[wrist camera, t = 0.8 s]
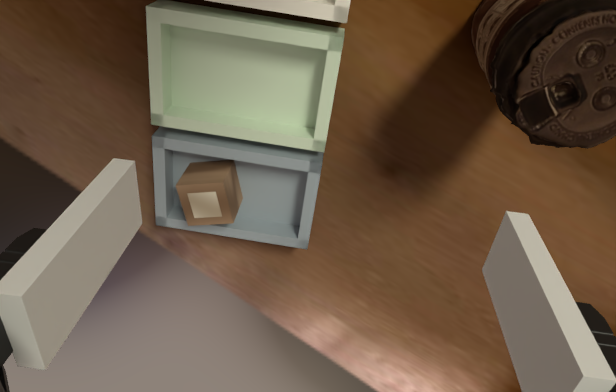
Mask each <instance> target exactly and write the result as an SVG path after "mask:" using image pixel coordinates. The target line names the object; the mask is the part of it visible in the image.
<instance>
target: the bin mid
mask: <svg viewBox="0 0 616 392" xmlns="http://www.w3.org/2000/svg"><path fill="white" fill-rule="evenodd" d="M146 22H147V43H148V64H149V86H150V107H151V125H157V126H163V127H170V128H176V129H182V130H188V131H194V132H200V133H207V134H213V135H219V136H225V137H231V138H238V139H244V140H250V141H256V142H262V143H269V144H275V145H281V146H287V147H293V148H300V149H306V150H312V151H318V152H324V150H325V144H326V139H327V133H328V127H329V121H330V116H331V110H332V104H333V98H334V93H335V87H336V81H337V75H338V70H339V64H340V58H341V52H342V47H343V41H344V31H345V29H343V28H337V27H331V26H325V25H319V24H313V23H306V22H300V21H294V20H288V19H282V18H276V17H269V16H263V15H257V14H251V13H245V12H238V11H232V10H226V9H220V8H214V7H208V6H201V5H195V4H189V3H183V2H177V1H171V0H158V1H155V2H153V3H151V4H149V5H147V6H146Z"/></svg>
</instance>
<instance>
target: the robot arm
mask: <svg viewBox="0 0 616 392" xmlns="http://www.w3.org/2000/svg"><path fill="white" fill-rule="evenodd" d="M141 224H142V216H141V208H140V199H139V191H138V182H137V174H136V165H135V161H132V160H124V159H117V158H113V159H112V160H111V162H110V163H109V164H108V165H107V166H106V167H105V168H104V169H103V170H102V171H101V172H100V173H99V174H98V176H97V177H96V178H95V179H94V180H93V181H92V182H91V183H90V184H89V185H88V186H87V187H86V188H85V190H84V191H83V192H82V193H81V194H80V195H79V196H78V197H77V199H75V200H74V201H73V203H72V204H71V205H70V206H69V207H68V208H67V209H66V210H65V211H64V212H63V213H62V214H61V215H60V217H59V218H58V219H57V220H56V221H55V222H54V223H53V224H52V225H51V226H50V227H49V228H48V229H47V230H45V229H38V228H33V229H32V230H30V231H28V232H26V233H24V234H23V235H21V236H19V237H17V238H16V239H15V240H14V241H13V242H12V243H11V244H10V245H9V246H8V247H7V248H6V249H5V252H2V253H1V254H0V392H10V391H9V386H8V381H7V376H6V372H5V369H4V366H3V364H4V363H5V361H6V360H7V358H8V357H9V356H10V355H11V353H13V355H14V358H15V361H16V363H17V366H20V367H27V368H34V369H40V370H46V369H47V368H48V366H49V365H50V363H51V361H52V360H53V359H54V357H55V355H56V354H57V352H58V351H59V349H60V348H61V346H62V345H63V343H64V342H65V340H66V339H67V337H68V336H69V334H70V333H71V331H72V330H73V328H74V326H75V325H76V323H77V322H78V320H79V319H80V317H81V316H82V314H83V313H84V311H85V310H86V308H87V307H88V305H89V304H90V302H91V301H92V299H93V297H94V296H95V295H96V293H97V292H98V290H99V288H100V287H101V285H102V284H103V282H104V281H105V279H106V278H107V276H108V275H109V273H110V272H111V270H112V269H113V267H114V266H115V264H116V263H117V261H118V259H119V258H120V256H121V255H122V253H123V252H124V250H125V249H126V247H127V246H128V244H129V243H130V241H131V240H132V238H133V237H134V235H135V233H136V232H137V231H138V229H139V228H140V226H141ZM482 272H483V275H484V278H485V281H486V284H487V287H488V290H489V293H490V296H491V299H492V302H493V305H494V308H495V311H496V314H497V317H498V320H499V323H500V326H501V329H502V332H503V335H504V338H505V341H506V344H507V347H508V350H509V353H510V356H511V359H512V362H513V365H514V369H515V372H516V375H517V378H518V381H519V384H520V387H521V390H522V392H616V337H615V336H613V332H612V330H611V328H610V327H609V325H608V323H607V322H606V320H605V318H604V317H603V316H602V315H601V314H600V313H599V312H598V311H597V310H596V309H595V308H593V307H592V306H591V305H590V304H587V303H580V302H575V301H574V299H573V297H572V295H571V293H570V291H569V289H568V288H567V286H566V284H565V282H564V280H563V278H562V276H561V274H560V273H559V271H558V269H557V267H556V265H555V263H554V261H553V259H552V258H551V256H550V254H549V252H548V250H547V248H546V246H545V244H544V243H543V241H542V239H541V237H540V235H539V233H538V231H537V229H536V228H535V226H534V224H533V222H532V220H531V218H530V216H529V214H524V213H517V212H509V211H506V213H505V215H504V218H503V220H502V223H501V225H500V228H499V230H498V232H497V235H496V237H495V240H494V242H493V245H492V247H491V249H490V252H489V254H488V257H487V259H486V261H485V264H484V266H483V269H482Z"/></svg>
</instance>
